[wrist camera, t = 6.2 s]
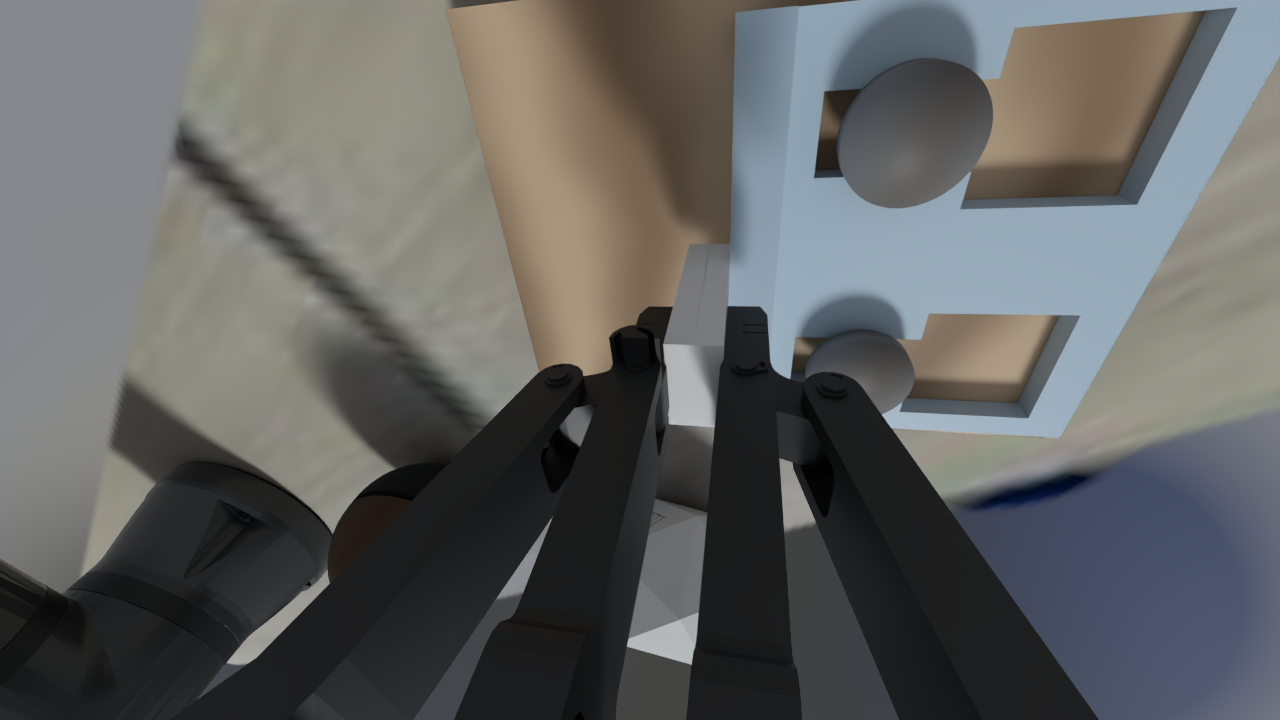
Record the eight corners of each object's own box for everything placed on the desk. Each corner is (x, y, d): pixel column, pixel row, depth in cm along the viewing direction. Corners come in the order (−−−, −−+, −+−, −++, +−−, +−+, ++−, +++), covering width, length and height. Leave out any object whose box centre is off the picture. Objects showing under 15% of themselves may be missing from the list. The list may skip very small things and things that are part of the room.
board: (555, 395, 27) (534, 438, 25) (462, 9, 17) (407, 8, 14) (1030, 420, 23) (1070, 476, 20) (1294, -94, 12) (1453, -127, 10)
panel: (728, 405, 24) (725, 461, 21) (737, 13, 15) (735, 12, 12) (1047, 422, 21) (1098, 489, 18) (1303, -48, 12) (1490, -70, 9)
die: (689, 446, 29) (561, 570, 24) (809, 559, 26) (688, 723, 22) (668, 487, 36) (566, 589, 32) (760, 580, 33) (662, 705, 29)
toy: (538, 527, 36) (478, 673, 28) (425, 516, 38) (338, 650, 30) (503, 436, 30) (416, 585, 22) (373, 430, 32) (251, 564, 24)
